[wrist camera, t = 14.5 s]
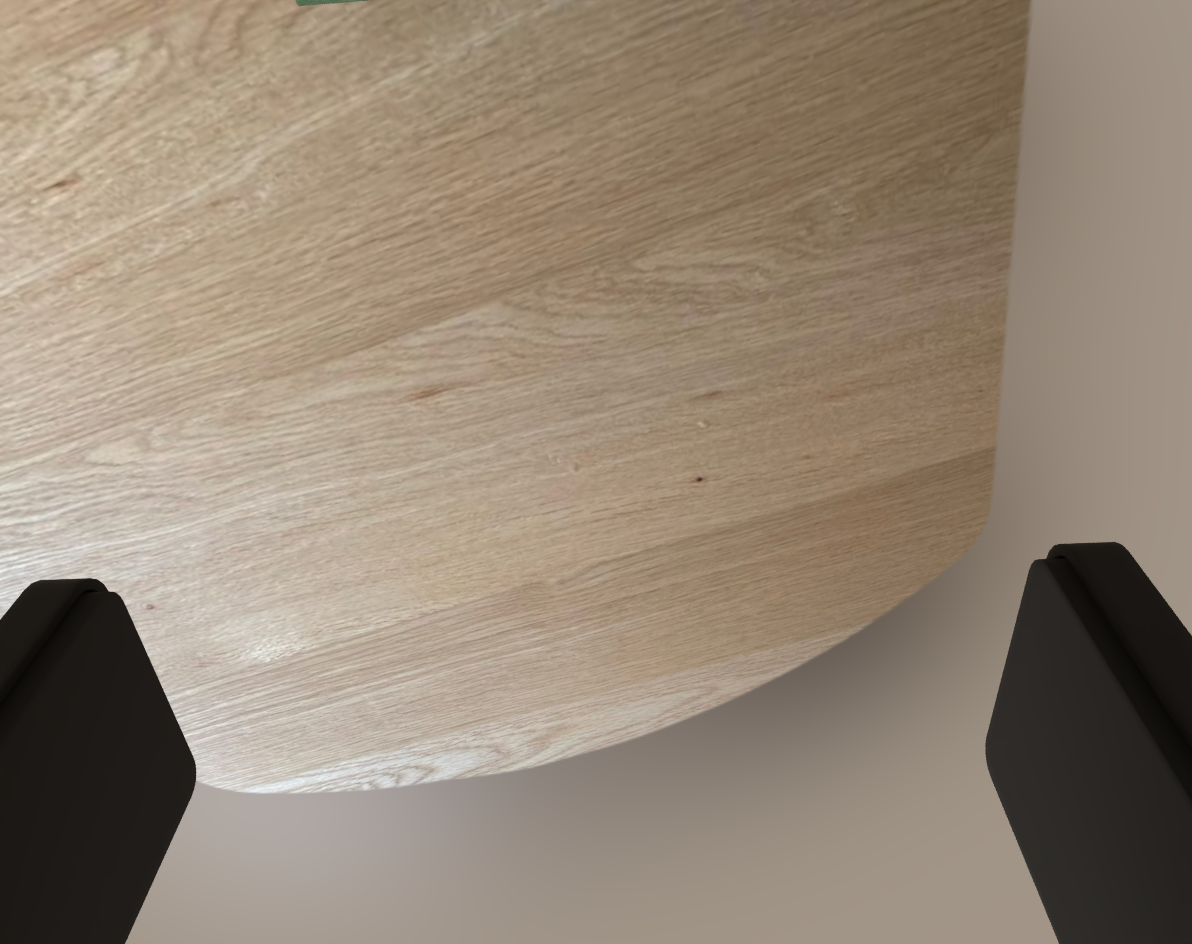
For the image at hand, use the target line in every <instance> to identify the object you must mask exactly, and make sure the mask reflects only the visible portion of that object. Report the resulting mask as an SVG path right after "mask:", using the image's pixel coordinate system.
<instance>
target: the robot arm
mask: <svg viewBox="0 0 1192 944" xmlns="http://www.w3.org/2000/svg"><path fill="white" fill-rule="evenodd" d="M986 760H987V766H988V770H989V773H990V776H991V778H992V781H993V784H994V786H995V788H996V791H997V793H998V796H999V798H1000V801H1001V803H1002V806H1003V808H1004V810H1005V813H1006V815H1007V818H1008V820H1009V822H1010V825H1011V827H1012V830H1013V832H1014V834H1015V837H1016V840H1017V842H1018V844H1019V847H1020V849H1021V852H1022V854H1023V857H1024V859H1025V862H1026V864H1027V866H1028V869H1029V871H1030V874H1031V876H1032V878H1033V881H1034V883H1035V886H1036V888H1037V891H1038V893H1039V896H1040V898H1041V900H1042V903H1043V905H1044V908H1045V910H1046V913H1047V915H1048V918H1049V920H1050V922H1051V925H1052V927H1053V930H1054V932H1055V934H1056V937H1057V939H1058V942H1059V944H1192V636H1191V634H1190V633H1189V632H1188V630H1187V629H1186V628H1185V626H1183V624H1182V622H1181V621H1180V620H1179V618H1178V617H1177V616H1176V614H1175V613H1174V612H1173V610H1172V609H1171V608H1170V606H1169V605H1168V603H1167V602H1166V601H1165V599H1164V598H1163V597H1162V595H1161V594H1160V593H1159V591H1158V590H1157V589H1156V587H1155V586H1154V585H1153V584H1152V582H1151V581H1150V579H1149V578H1148V577H1147V575H1146V574H1145V573H1144V572H1143V570H1142V569H1141V567H1140V566H1139V565H1138V563H1137V562H1136V561H1135V559H1134V558H1133V557H1132V555H1131V554H1130V552H1129V551H1128V550H1127V549H1126V548H1125V547H1124V546H1123V545H1121V544H1119V543H1116V542H1105V543H1104V542H1103V543H1075V544H1058V545H1055V546H1053V547H1052V549H1051V550H1050V551H1049V553H1048V556H1047V558H1046V559H1038V560H1035V561H1034V562H1033V563H1032V565H1031V567H1030V570H1029V573H1028V577H1027V581H1026V585H1025V589H1024V593H1023V596H1022V600H1021V604H1020V608H1019V612H1018V616H1017V620H1016V624H1015V628H1014V632H1013V636H1012V639H1011V643H1010V647H1009V651H1008V655H1007V659H1006V663H1005V667H1004V671H1003V675H1002V679H1001V683H1000V686H999V691H998V694H997V698H996V702H995V706H994V710H993V714H992V718H991V722H990V726H989V730H988V734H987V737H986ZM195 782H196V764H195V761H194V758H193V755H192V753H191V751H190V749H189V746H188V744H187V742H186V740H185V737H184V735H183V733H182V731H181V729H180V726H179V724H178V722H177V720H176V717H175V715H174V713H173V711H172V708H171V706H170V704H169V702H168V700H167V697H166V695H165V693H164V691H163V688H162V686H161V684H160V682H159V679H158V677H157V675H156V673H155V671H154V668H153V666H152V664H151V662H150V659H149V657H148V655H147V653H146V650H145V648H144V646H143V644H142V642H141V639H140V637H139V635H138V633H137V630H136V628H135V626H134V624H133V621H132V619H131V617H130V615H129V613H128V610H127V608H126V606H125V604H124V602H123V600H122V598H121V597H120V596H119V595H118V594H117V593H115V592H109V591H108V590H107V588H106V587H105V585H104V584H103V583H101V582H100V581H99V580H97V579H91V578H87V579H59V580H39V581H37V582H34V583H32V584H31V585H30V586H28V587H27V588H26V589H25V590H24V591H23V592H22V594H21V595H20V596H19V597H18V599H17V600H16V601H15V602H14V604H13V605H12V606H11V607H10V609H9V610H8V611H7V612H6V613H5V615H4V616H3V617H2V618H1V620H0V944H125V942H126V940H127V938H128V936H129V933H130V931H131V929H132V927H133V925H134V922H135V920H136V918H137V916H138V914H139V911H140V909H141V907H142V905H143V903H144V900H145V898H146V896H147V894H148V891H149V889H150V887H151V885H152V883H153V880H154V878H155V876H156V874H157V871H158V869H159V867H160V865H161V863H162V861H163V858H164V856H165V854H166V852H167V850H168V847H169V845H170V843H171V841H172V839H173V836H174V834H175V832H176V830H177V827H178V825H179V823H180V821H181V819H182V816H183V814H184V812H185V810H186V807H187V805H188V803H189V801H190V799H191V796H192V794H193V791H194V787H195Z"/></svg>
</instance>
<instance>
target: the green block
mask: <svg viewBox="0 0 1192 944" xmlns="http://www.w3.org/2000/svg"><path fill="white" fill-rule="evenodd" d="M354 1H366V0H296V3H297V5H298V6H304V5H316V4H329V3H341V2H354Z"/></svg>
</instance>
